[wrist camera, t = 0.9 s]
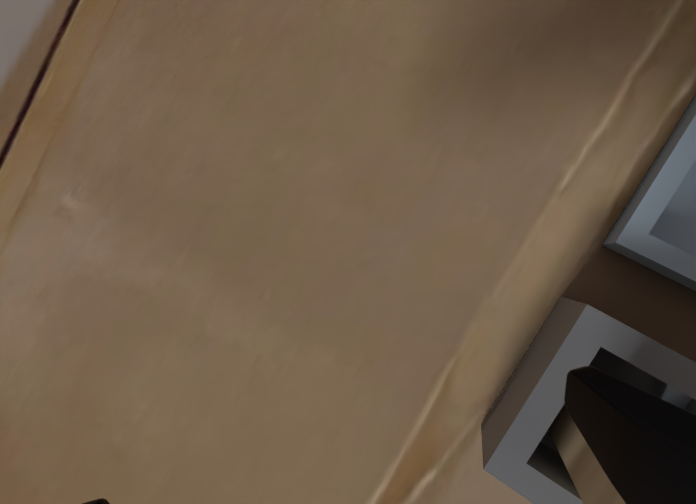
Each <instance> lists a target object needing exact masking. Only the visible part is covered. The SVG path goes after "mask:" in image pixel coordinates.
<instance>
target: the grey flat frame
mask: <svg viewBox="0 0 696 504" xmlns="http://www.w3.org/2000/svg"><path fill="white" fill-rule="evenodd" d="M602 245H603V246H605V247H607V248H609V249H611V250H613V251H615V252H617V253H619V254H621V255H623V256H625V257H627V258H629V259H631V260H633V261H635V262H637V263H639V264H641V265H643V266H645V267H647V268H649V269H651V270H653V271H655V272H657V273H659V274H661V275H663V276H665V277H667V278H669V279H671V280H673V281H675V282H677V283H679V284H681V285H683V286H685V287H687V288H689V289H691V290H693V291H695V292H696V95H695V97H694V98H693V100H692V102H691V103H690V105H689V106H688V108H687V110H686V111H685V113H684V114H683V116H682V118H681V119H680V121H679V122H678V124H677V126H676V127H675V129H674V130H673V132H672V134H671V135H670V137H669V138H668V140H667V142H666V143H665V145H664V147H663V148H662V150H661V151H660V153H659V155H658V156H657V158H656V159H655V161H654V163H653V164H652V166H651V167H650V169H649V171H648V172H647V174H646V175H645V177H644V179H643V180H642V182H641V183H640V185H639V187H638V188H637V190H636V191H635V193H634V195H633V196H632V198H631V199H630V201H629V203H628V204H627V206H626V207H625V209H624V211H623V212H622V214H621V215H620V217H619V219H618V220H617V222H616V223H615V225H614V227H613V228H612V230H611V231H610V233H609V235H608V236H607V238H606V239H605V241H604V243H603V244H602Z"/></svg>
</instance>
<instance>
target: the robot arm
mask: <svg viewBox="0 0 696 504" xmlns="http://www.w3.org/2000/svg"><path fill="white" fill-rule="evenodd" d="M564 402H565V406H566V409H567V411H568V413H569V414H570V416H571V418H572V419H573V421H574V423H575V424H576V426H577V428H578V429H579V431H580V433H581V434H582V436H583V438H584V439H585V441H586V443H587V444H588V446H589V448H590V449H591V451H592V453H593V454H594V456H595V457H596V459H597V461H598V462H599V464H600V466H601V467H602V469H603V471H604V472H605V474H606V475H607V477H608V479H609V480H610V482H611V483H612V485H613V486H614V488H615V489H616V490H617V492H618V493H619V495H620V496H621V497H622V499H623V500H624V501H625V503H626V504H696V415H695V414H693V413H691V412H689V411H687V410H684V409H682V408H680V407H678V406H676V405H674V404H671V403H669V402H667V401H665V400H663V399H661V398H658V397H656V396H654V395H652V394H650V393H648V392H645V391H643V390H641V389H639V388H637V387H635V386H632V385H630V384H628V383H626V382H624V381H622V380H619V379H617V378H615V377H613V376H611V375H609V374H606V373H604V372H602V371H600V370H598V369H596V368H593V367H590V366H583V367H580V368H576V369H573V370H570V371H569V372H568V374H567V378H566V387H565V396H564ZM83 504H109V502H108V501H107V500H105V499H103V498H102V499H97V500H93V501H90V502H86V503H83Z"/></svg>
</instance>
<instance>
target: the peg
mask: <svg viewBox="0 0 696 504" xmlns="http://www.w3.org/2000/svg"><path fill="white" fill-rule="evenodd" d="M589 366H590V367H593V368H596V369H598V370H600V371H602V372H604V373H606V374H608V373H607V372H605V371H603V370H601V369H600V368H598V367H596V366H594V365H593V364H591V363H590V365H589ZM609 375H610V374H609ZM611 376H612V375H611ZM548 430H549V432H550V435H551V437H552V439H553V441H554V443H555V445H556V447H557V449H558V451H559V454H560V456H561V458H562V460H563V462H564V464H565V466H566V468H567V470H568V472H569V475H570V477H571V479H572V481H573V483H574V485H575V487H576V489H577V491H578V494H579V496H580V498H581V500H582V502H583V504H626V503H625V501H624V500H623V499H622V497H621V496H620V495H619V493H618V492H617V490H616V489H615V488H614V486H613V485H612V483H611V482H610V480H609V479H608V477H607V475H606V474H605V472H604V471H603V469H602V467H601V466H600V464H599V462H598V461H597V459H596V457H595V456H594V454H593V453H592V451H591V449H590V448H589V446H588V444H587V443H586V441H585V439H584V438H583V436H582V434H581V433H580V431H579V429H578V428H577V426H576V424H575V423H574V421H573V419H572V418H571V416H570V414H569V413H568V411H567V409H566V406H565V404H564V405H563V407H562V408H561V410H560V411H559V413H558V414H557V416H556V418H555V419H554V421H553V422H552V424H551V425H550V427H549V429H548Z"/></svg>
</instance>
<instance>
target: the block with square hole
mask: <svg viewBox="0 0 696 504" xmlns="http://www.w3.org/2000/svg"><path fill="white" fill-rule="evenodd" d="M590 363H591V364H593V365H594V366H596V367H598V368H600V369H601V370H603V371H605V372H607V373H608V374H610V375H612V376H613V377H615V378H617V379H619V380H622V381H624V382H626V383H628V384H630V385H632V386H635V387H637V388H639V389H641V390H643V391H645V392H648V393H650V394H652V395H654V396H656V397H658V398H661V399H663V400H665V401H667V402H669V403H671V404H674V405H676V406H678V407H680V408H682V409H684V410H687V411H689V412H691V413H693V414H695V415H696V362H694V361H692V360H690V359H688V358H686V357H685V356H683V355H681V354H679V353H677V352H675V351H673V350H672V349H670V348H668V347H666V346H664V345H662V344H660V343H659V342H657V341H655V340H653V339H651V338H649V337H647V336H646V335H644V334H642V333H640V332H638V331H636V330H634V329H633V328H631V327H629V326H627V325H625V324H623V323H621V322H620V321H618V320H616V319H614V318H612V317H610V316H608V315H607V314H605V313H603V312H601V311H599V310H597V309H595V308H593V307H592V306H590V305H588V304H585V303H581V302H578V301H574V300H571V299H567V298H564V297H560V299H559V300H558V302H557V304H556V305H555V307H554V308H553V310H552V312H551V313H550V315H549V316H548V318H547V320H546V321H545V323H544V324H543V326H542V328H541V329H540V331H539V333H538V334H537V336H536V337H535V339H534V341H533V342H532V344H531V345H530V347H529V349H528V350H527V352H526V353H525V355H524V357H523V358H522V360H521V362H520V363H519V365H518V366H517V368H516V370H515V371H514V373H513V374H512V376H511V378H510V379H509V381H508V382H507V384H506V386H505V387H504V389H503V390H502V392H501V394H500V395H499V397H498V399H497V400H496V402H495V403H494V405H493V407H492V408H491V410H490V411H489V413H488V415H487V416H486V418H485V419H484V421H483V423H482V424H481V431H482V450H483V469H484V470H485V471H487V472H488V473H490V474H491V475H493V476H494V477H496V478H497V479H499V480H500V481H501V482H503V483H504V484H506V485H507V486H509V487H510V488H512V489H513V490H515V491H516V492H518V493H519V494H520V495H522V496H523V497H525V498H526V499H528V500H529V501H531V502H532V503H534V504H583V502H582V500H581V498H580V496H579V494H578V491H577V489H576V487H575V485H574V483H573V481H572V479H571V477H570V475H569V472H568V470H567V468H566V466H565V464H564V462H563V460H562V458H561V456H560V454H559V451H558V449H557V447H556V445H555V443H554V441H553V439H552V437H551V435H550V432H549V430H548V429H549V427H550V425H551V424H552V422H553V421H554V419H555V418H556V416H557V414H558V413H559V411H560V410H561V408H562V407H563V405H564V404H565V402H564V396H565V387H566V378H567V374H568V372H569V371H570V370H573V369H576V368H580V367H583V366H589V365H590Z"/></svg>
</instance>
